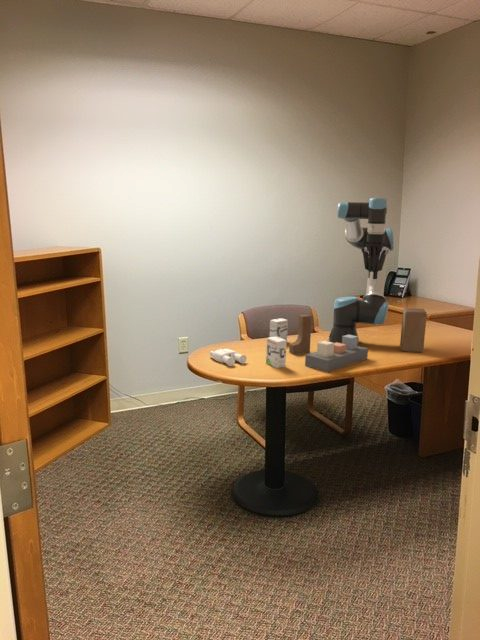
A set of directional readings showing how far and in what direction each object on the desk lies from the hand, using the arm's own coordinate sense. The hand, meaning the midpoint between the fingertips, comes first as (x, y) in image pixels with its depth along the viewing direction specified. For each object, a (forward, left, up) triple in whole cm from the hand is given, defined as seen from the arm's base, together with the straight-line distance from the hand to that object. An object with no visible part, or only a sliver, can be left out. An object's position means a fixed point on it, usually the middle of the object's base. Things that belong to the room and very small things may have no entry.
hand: (372, 285), depth 232 cm
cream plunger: (-3, -29, -30) cm, 41 cm away
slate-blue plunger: (-3, -11, -30) cm, 32 cm away
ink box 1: (-44, -14, -33) cm, 57 cm away
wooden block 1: (-24, -21, -33) cm, 46 cm away
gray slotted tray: (-3, -20, -33) cm, 39 cm away
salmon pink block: (-3, -20, -32) cm, 38 cm away
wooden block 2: (+8, +26, -33) cm, 43 cm away
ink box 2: (-18, -44, -33) cm, 58 cm away
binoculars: (-37, -56, -34) cm, 75 cm away
